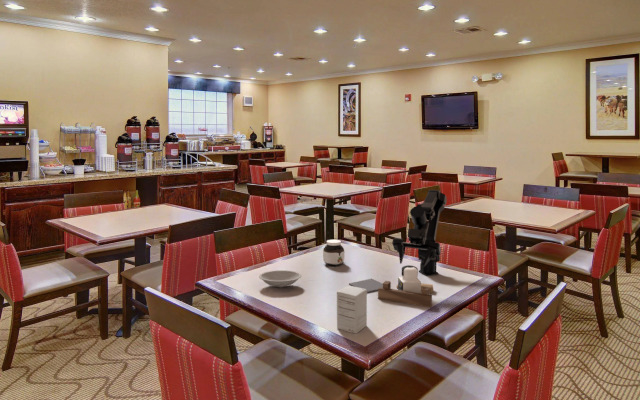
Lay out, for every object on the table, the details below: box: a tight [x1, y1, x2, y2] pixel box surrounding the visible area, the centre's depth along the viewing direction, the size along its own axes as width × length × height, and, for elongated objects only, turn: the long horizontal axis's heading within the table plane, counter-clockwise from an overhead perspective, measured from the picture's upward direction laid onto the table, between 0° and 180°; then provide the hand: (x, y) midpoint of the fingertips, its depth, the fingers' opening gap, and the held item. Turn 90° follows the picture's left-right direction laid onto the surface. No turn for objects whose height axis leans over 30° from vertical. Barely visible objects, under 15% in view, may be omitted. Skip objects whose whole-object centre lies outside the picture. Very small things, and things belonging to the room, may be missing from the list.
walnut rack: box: [377, 280, 433, 308], centre depth 162 cm, size 4×20×6 cm, turn 63°
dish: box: [258, 270, 302, 288], centre depth 178 cm, size 18×14×5 cm
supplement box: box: [336, 284, 368, 334], centre depth 139 cm, size 7×7×13 cm
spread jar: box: [322, 239, 345, 267], centre depth 212 cm, size 12×11×12 cm
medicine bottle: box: [397, 264, 422, 294], centre depth 166 cm, size 7×7×12 cm
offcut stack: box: [396, 282, 434, 294], centre depth 175 cm, size 4×14×2 cm, turn 63°
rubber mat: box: [348, 278, 384, 294], centre depth 179 cm, size 12×12×1 cm
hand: (412, 264), depth 168 cm, fingers open, 9 cm apart
